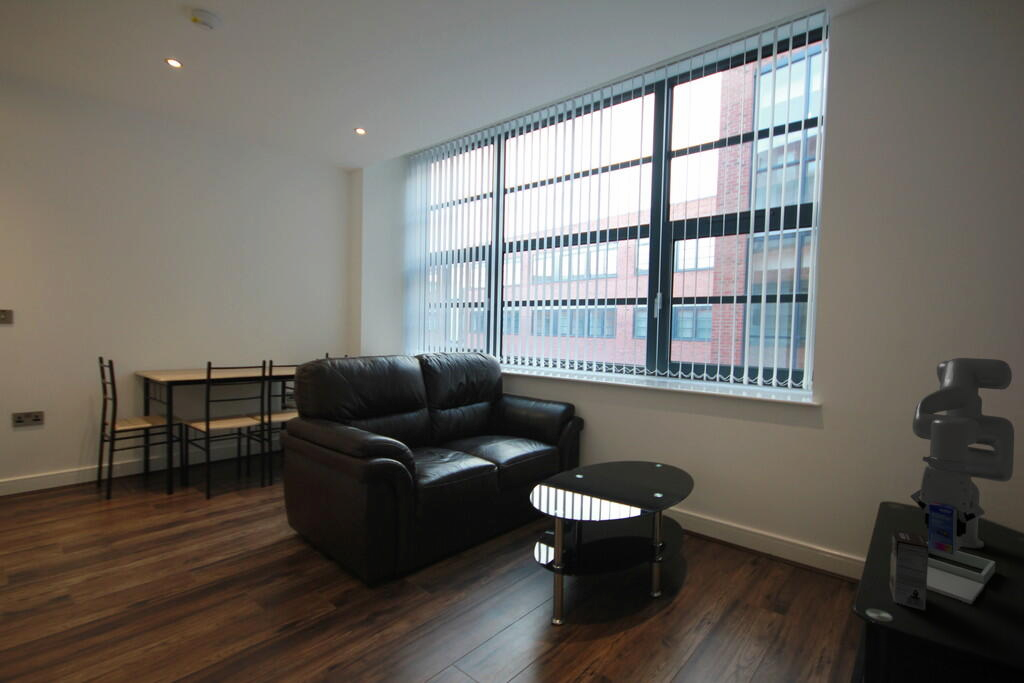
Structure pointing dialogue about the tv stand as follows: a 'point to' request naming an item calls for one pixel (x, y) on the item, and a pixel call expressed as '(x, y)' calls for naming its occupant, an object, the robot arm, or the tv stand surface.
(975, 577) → the frame
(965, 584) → the tile
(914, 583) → the coffee box
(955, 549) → the ink cartridge box
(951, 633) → the tv stand surface
